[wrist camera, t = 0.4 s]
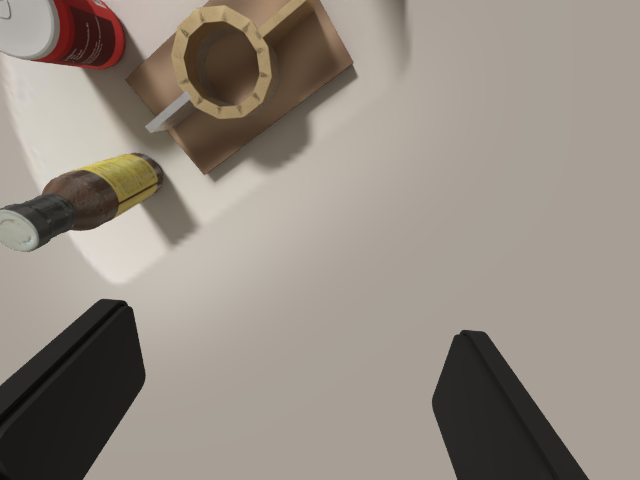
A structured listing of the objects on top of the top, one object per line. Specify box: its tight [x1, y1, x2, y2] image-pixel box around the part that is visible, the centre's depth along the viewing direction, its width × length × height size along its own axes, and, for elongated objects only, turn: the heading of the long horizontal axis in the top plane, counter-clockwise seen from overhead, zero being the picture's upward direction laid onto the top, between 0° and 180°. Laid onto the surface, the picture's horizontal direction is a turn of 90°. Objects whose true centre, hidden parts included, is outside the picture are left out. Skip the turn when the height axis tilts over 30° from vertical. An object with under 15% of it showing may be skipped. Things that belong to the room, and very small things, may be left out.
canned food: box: [0, 0, 125, 69], centre depth 31 cm, size 8×8×11 cm
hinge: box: [145, 0, 315, 133], centre depth 34 cm, size 10×22×6 cm, turn 124°
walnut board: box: [125, 0, 353, 175], centre depth 37 cm, size 14×24×2 cm, turn 124°
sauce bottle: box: [0, 153, 163, 252], centre depth 34 cm, size 6×6×20 cm
